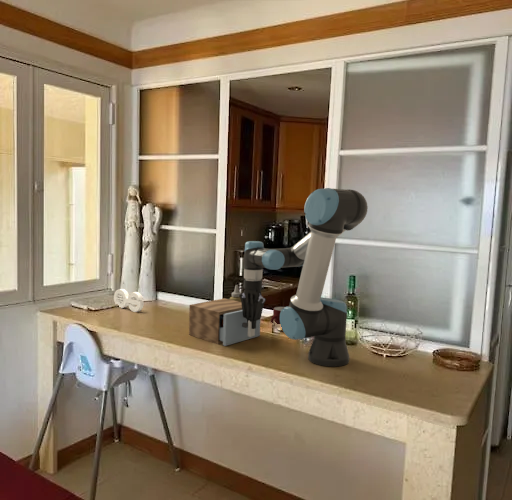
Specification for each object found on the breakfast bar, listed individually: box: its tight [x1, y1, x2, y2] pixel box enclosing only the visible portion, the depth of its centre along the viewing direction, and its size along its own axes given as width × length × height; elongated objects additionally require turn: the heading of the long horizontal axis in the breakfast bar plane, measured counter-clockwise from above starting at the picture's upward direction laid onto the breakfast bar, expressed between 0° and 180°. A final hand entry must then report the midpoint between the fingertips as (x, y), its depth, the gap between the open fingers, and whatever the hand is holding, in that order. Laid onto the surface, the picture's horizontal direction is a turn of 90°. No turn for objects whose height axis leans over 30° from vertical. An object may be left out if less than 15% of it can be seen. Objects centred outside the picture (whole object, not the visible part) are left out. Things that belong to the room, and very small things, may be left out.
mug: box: [270, 306, 286, 324], centre depth 217 cm, size 11×8×10 cm
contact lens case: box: [113, 288, 145, 313], centre depth 250 cm, size 22×2×10 cm, turn 52°
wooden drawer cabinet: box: [188, 297, 242, 345], centre depth 208 cm, size 18×21×13 cm
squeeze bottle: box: [229, 284, 242, 302], centre depth 230 cm, size 8×8×18 cm
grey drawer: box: [219, 310, 261, 347], centre depth 205 cm, size 20×21×13 cm
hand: (251, 335), depth 197 cm, fingers closed
